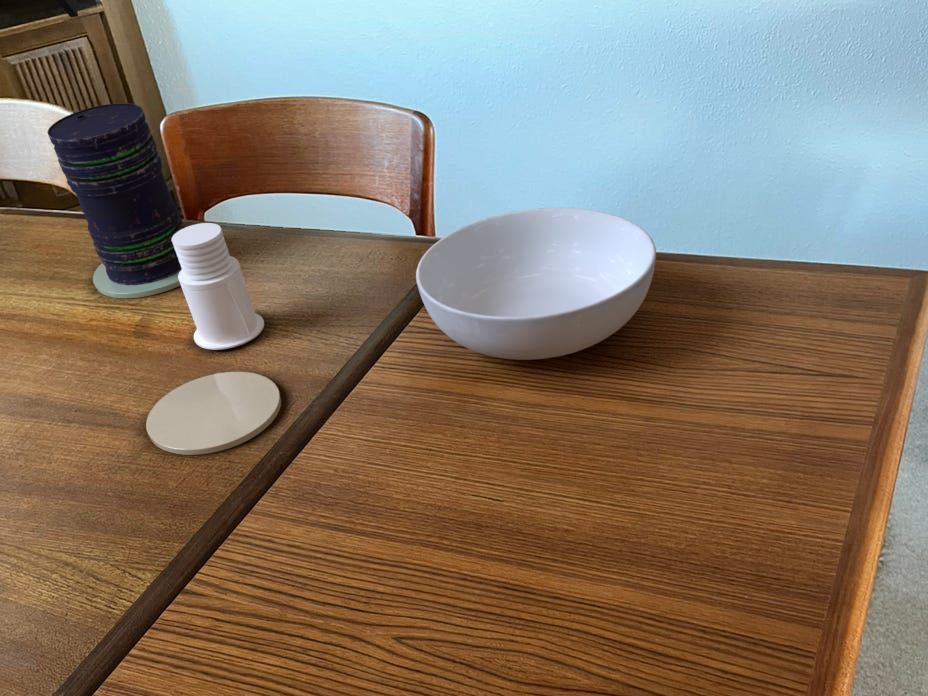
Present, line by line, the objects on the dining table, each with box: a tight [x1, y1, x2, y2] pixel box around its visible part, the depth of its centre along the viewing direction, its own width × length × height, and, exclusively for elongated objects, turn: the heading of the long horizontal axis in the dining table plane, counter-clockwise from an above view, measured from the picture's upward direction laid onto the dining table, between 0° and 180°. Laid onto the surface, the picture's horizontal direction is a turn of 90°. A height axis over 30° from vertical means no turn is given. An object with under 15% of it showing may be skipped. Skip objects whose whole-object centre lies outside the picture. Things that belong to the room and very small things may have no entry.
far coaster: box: [92, 262, 181, 299], centre depth 108 cm, size 13×13×1 cm
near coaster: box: [145, 371, 282, 456], centre depth 86 cm, size 12×12×1 cm
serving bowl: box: [415, 207, 657, 361], centre depth 86 cm, size 21×21×7 cm
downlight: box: [172, 222, 265, 351], centre depth 92 cm, size 8×7×10 cm
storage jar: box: [47, 102, 186, 285], centre depth 102 cm, size 10×10×15 cm
